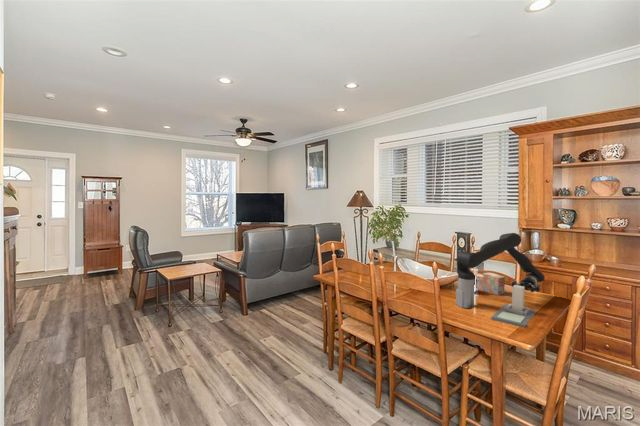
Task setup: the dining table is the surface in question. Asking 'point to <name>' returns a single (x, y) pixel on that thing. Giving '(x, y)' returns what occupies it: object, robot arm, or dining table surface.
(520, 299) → the cream block
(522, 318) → the grey tray
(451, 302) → the dining table surface
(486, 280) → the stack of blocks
